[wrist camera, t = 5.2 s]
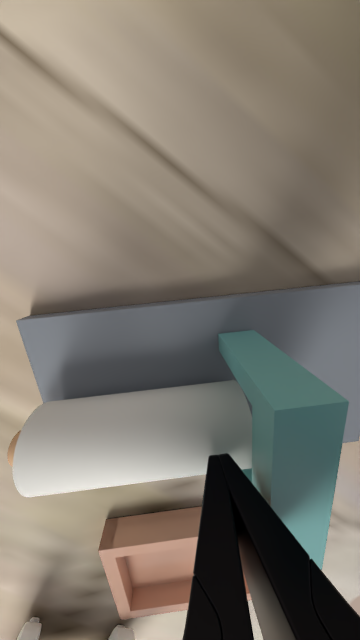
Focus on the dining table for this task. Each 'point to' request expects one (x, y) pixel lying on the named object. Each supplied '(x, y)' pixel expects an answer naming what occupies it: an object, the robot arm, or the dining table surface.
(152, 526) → the tray
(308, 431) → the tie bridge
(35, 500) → the dining table surface
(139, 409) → the white bottle
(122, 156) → the dining table surface
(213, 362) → the board
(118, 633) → the cable organizer
